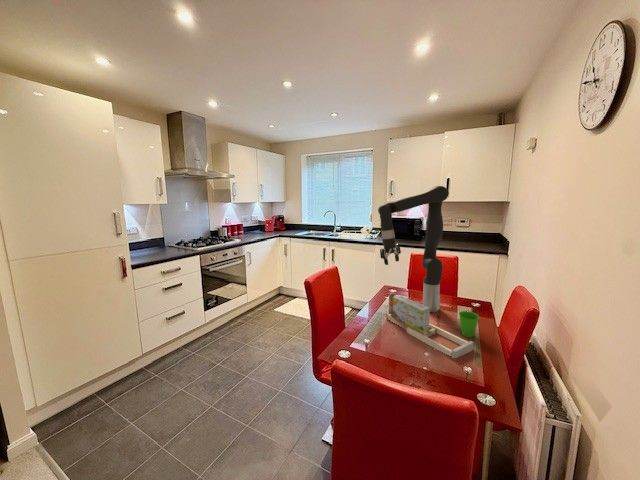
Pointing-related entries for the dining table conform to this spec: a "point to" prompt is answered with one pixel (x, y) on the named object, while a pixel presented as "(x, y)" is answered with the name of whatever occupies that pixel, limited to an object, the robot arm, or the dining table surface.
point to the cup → (468, 323)
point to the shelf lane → (454, 353)
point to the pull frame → (403, 325)
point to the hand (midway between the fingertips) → (392, 263)
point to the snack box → (411, 313)
